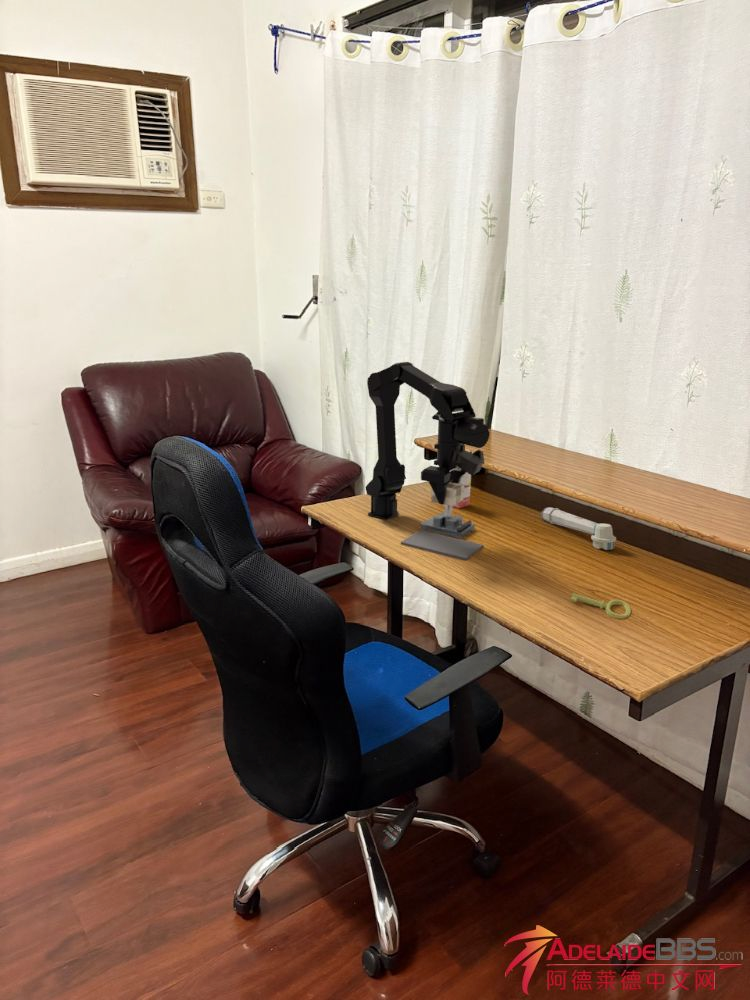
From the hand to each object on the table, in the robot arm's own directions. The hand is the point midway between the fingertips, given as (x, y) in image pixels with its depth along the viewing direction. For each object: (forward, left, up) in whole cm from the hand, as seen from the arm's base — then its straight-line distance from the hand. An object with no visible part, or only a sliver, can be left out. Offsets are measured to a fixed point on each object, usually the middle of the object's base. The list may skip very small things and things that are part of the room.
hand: (447, 500), depth 182 cm
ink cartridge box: (-11, +28, -11) cm, 32 cm away
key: (+44, -14, -12) cm, 48 cm away
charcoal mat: (+1, -3, -11) cm, 11 cm away
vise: (-3, +8, -11) cm, 14 cm away
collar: (0, 0, 0) cm, 0 cm away
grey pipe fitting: (+26, +24, -11) cm, 38 cm away
